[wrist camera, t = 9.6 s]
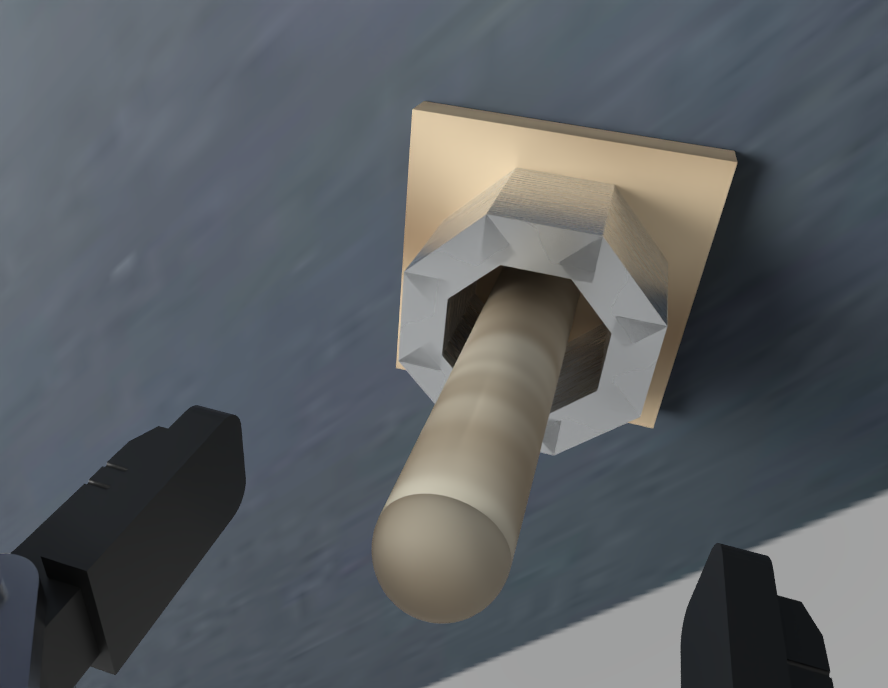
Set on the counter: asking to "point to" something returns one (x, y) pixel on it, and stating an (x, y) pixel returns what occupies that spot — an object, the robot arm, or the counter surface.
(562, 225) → the ring
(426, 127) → the post stand
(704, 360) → the counter surface
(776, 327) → the counter surface
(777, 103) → the counter surface
